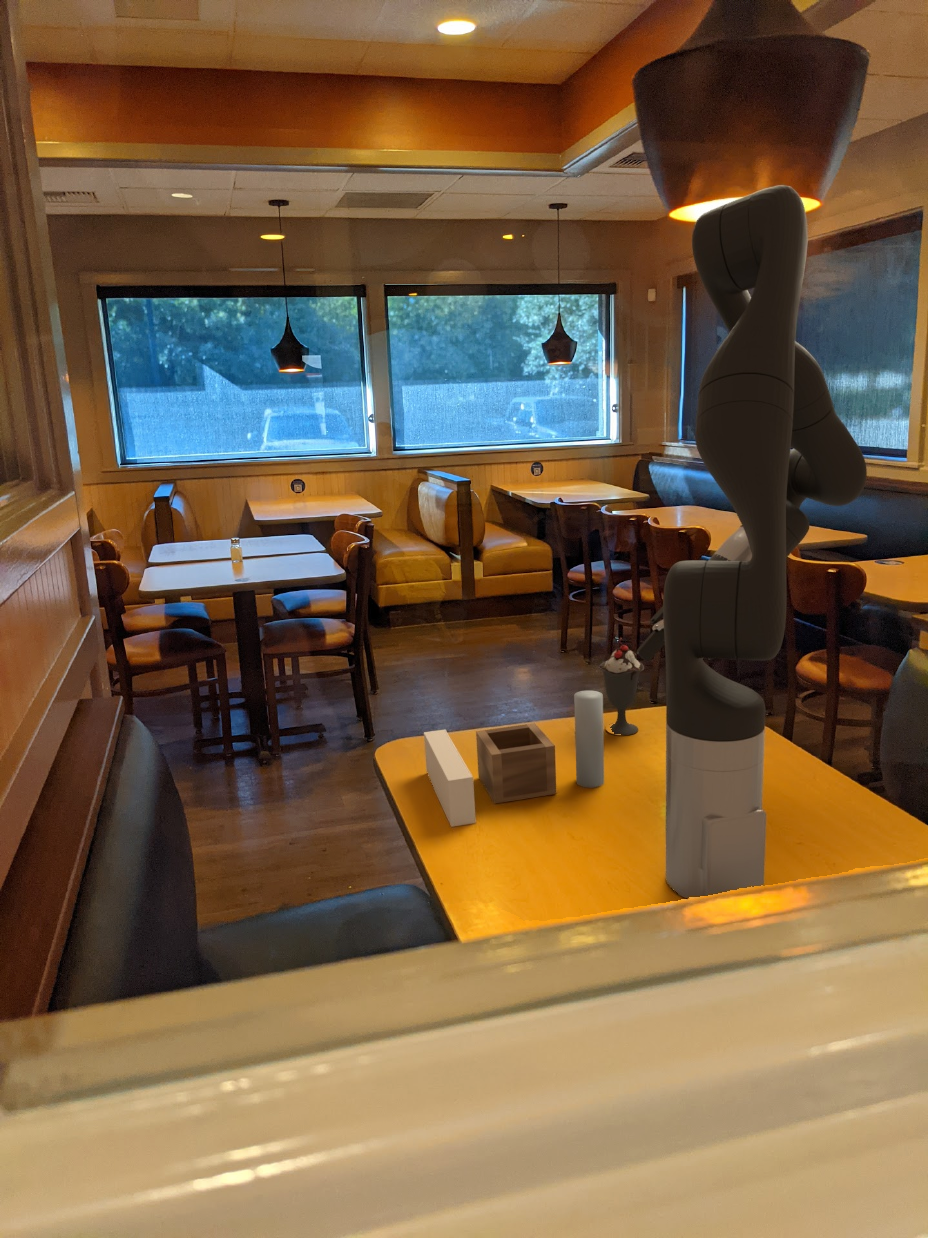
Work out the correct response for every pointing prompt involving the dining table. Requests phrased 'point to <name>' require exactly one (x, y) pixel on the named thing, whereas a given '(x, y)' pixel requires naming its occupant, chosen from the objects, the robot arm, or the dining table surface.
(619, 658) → the sundae
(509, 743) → the open wooden box
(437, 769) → the rail
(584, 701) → the gray cylinder
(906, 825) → the dining table surface
